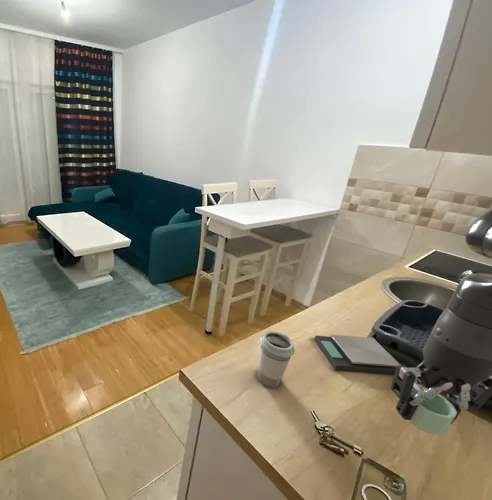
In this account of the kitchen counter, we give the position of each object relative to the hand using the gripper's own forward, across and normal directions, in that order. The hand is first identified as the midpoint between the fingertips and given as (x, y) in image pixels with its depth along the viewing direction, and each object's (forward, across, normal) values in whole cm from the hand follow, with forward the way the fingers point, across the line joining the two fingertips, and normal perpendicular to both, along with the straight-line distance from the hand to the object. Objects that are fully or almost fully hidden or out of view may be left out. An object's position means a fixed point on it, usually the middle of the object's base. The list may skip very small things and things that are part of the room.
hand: (423, 417), depth 51 cm
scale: (+8, +4, +23) cm, 24 cm away
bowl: (+1, 0, 0) cm, 1 cm away
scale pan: (+5, +5, +23) cm, 24 cm away
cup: (+8, -21, +13) cm, 26 cm away
